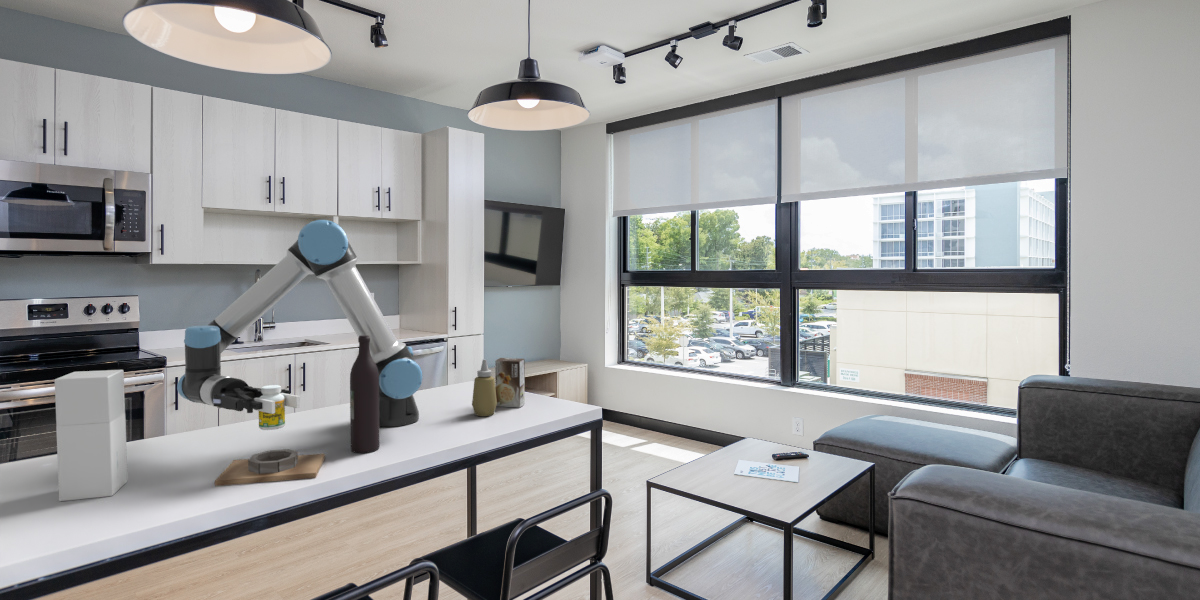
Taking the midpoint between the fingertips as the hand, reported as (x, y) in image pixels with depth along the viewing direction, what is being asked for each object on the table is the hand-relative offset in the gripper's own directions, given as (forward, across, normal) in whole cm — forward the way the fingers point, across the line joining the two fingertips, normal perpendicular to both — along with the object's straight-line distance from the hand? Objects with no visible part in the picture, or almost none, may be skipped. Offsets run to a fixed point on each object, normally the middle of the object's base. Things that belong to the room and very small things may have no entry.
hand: (286, 404), depth 136 cm
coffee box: (+3, -82, -16) cm, 83 cm away
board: (-5, 0, -16) cm, 17 cm away
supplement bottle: (-5, 0, -6) cm, 8 cm away
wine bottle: (0, -22, -16) cm, 28 cm away
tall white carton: (-26, +26, -17) cm, 40 cm away
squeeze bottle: (+3, -67, -16) cm, 69 cm away
